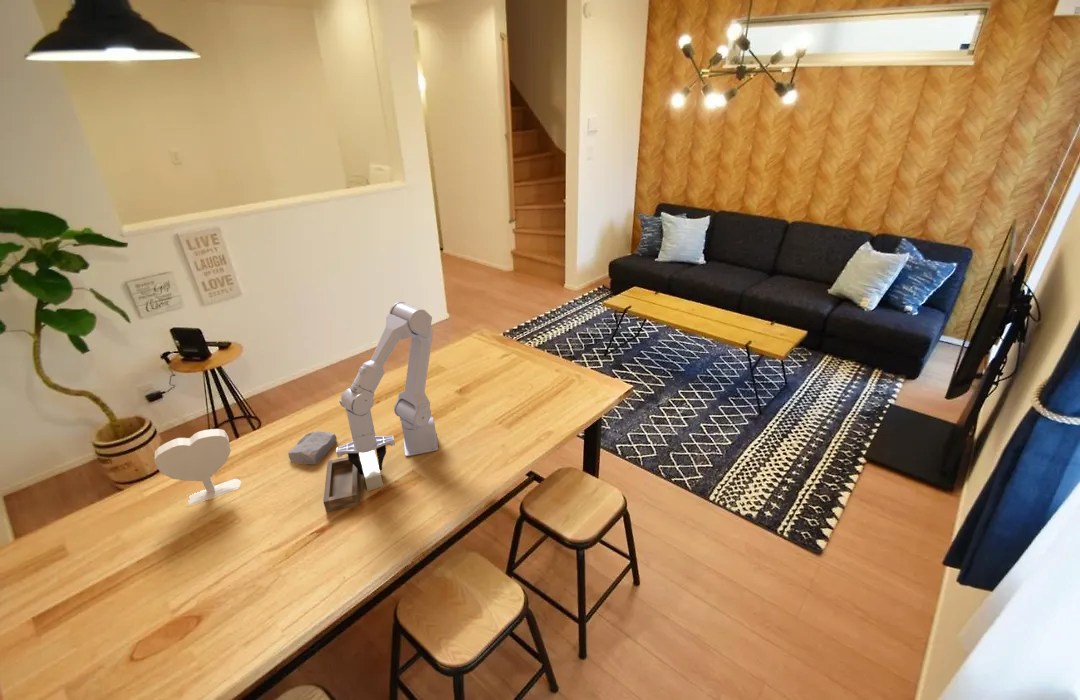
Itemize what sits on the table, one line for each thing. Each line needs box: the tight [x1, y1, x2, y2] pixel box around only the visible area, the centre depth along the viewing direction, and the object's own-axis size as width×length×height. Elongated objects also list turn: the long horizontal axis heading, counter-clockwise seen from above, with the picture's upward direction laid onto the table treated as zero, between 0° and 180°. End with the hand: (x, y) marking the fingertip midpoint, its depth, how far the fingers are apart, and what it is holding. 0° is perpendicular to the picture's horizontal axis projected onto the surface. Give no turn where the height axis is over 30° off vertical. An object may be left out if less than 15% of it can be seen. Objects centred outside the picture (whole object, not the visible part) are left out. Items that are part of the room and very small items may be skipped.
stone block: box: [288, 430, 337, 466], centre depth 143 cm, size 12×5×10 cm
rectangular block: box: [359, 449, 384, 492], centre depth 134 cm, size 4×12×4 cm, turn 25°
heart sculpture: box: [154, 428, 242, 505], centre depth 125 cm, size 16×5×18 cm, turn 124°
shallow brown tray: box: [323, 456, 361, 513], centre depth 130 cm, size 8×16×4 cm, turn 17°
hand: (371, 470), depth 133 cm, fingers open, 4 cm apart
